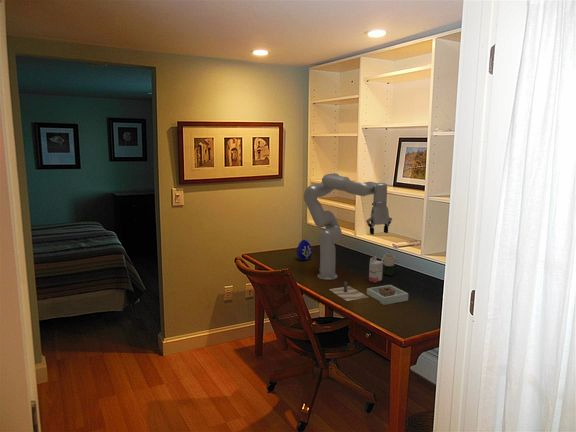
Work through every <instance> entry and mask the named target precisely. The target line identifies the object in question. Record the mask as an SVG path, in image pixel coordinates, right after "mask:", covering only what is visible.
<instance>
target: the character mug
mask: <svg viewBox="0 0 576 432" xmlns="http://www.w3.org/2000/svg"><path fill="white" fill-rule="evenodd" d="M380 261H382V262H383V266H384V267H383V272H382V275H385V276H393V275H394V267H393V266H395V263H397V257H396V256H395V254H392V253H391V254H390V253H385V254H383V256H382V258H381V259H380Z"/></svg>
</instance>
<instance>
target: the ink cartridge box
mask: <svg viewBox="0 0 576 432" xmlns="http://www.w3.org/2000/svg"><path fill="white" fill-rule="evenodd" d="M377 258H378V256H377V255H376V256H373V257H370V259H369V269H368V270H369V271H368V281H369V282H371V283H378V282H380V281H382V280H383V270H384V267H383V266H384V264H383V262H382V261H381V260H377Z"/></svg>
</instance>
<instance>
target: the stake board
mask: <svg viewBox="0 0 576 432" xmlns="http://www.w3.org/2000/svg"><path fill="white" fill-rule="evenodd" d="M329 291H330V292H332V293H333V294H335V295H336V296H338V297H340V298H341V299H343V300H345V301H347V302H349V301H353V300H354V301H355V300H360V299H366V298H369V295H366V294H364V293H362V292H360V291H359V290H358V289H355V288H354V287H352V286H350V285H349V286H348V282H347V281H343V286H342V287H336V288H335V287H334V288H330V289H329Z"/></svg>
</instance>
